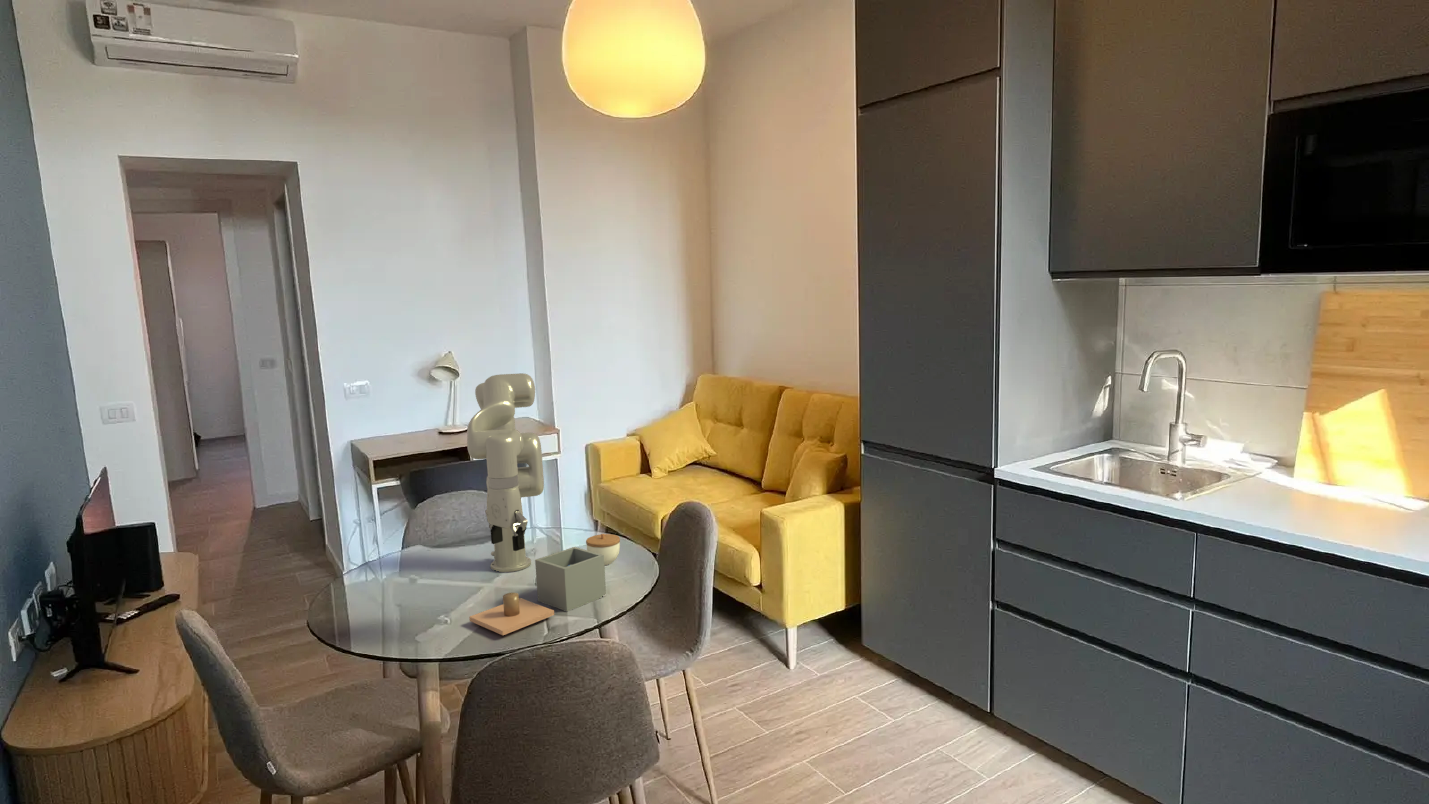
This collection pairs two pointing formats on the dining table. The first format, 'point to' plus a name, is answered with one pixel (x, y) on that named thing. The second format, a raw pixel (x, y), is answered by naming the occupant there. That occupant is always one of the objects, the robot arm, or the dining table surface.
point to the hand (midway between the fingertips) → (507, 546)
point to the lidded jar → (604, 546)
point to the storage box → (570, 578)
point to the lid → (511, 615)
